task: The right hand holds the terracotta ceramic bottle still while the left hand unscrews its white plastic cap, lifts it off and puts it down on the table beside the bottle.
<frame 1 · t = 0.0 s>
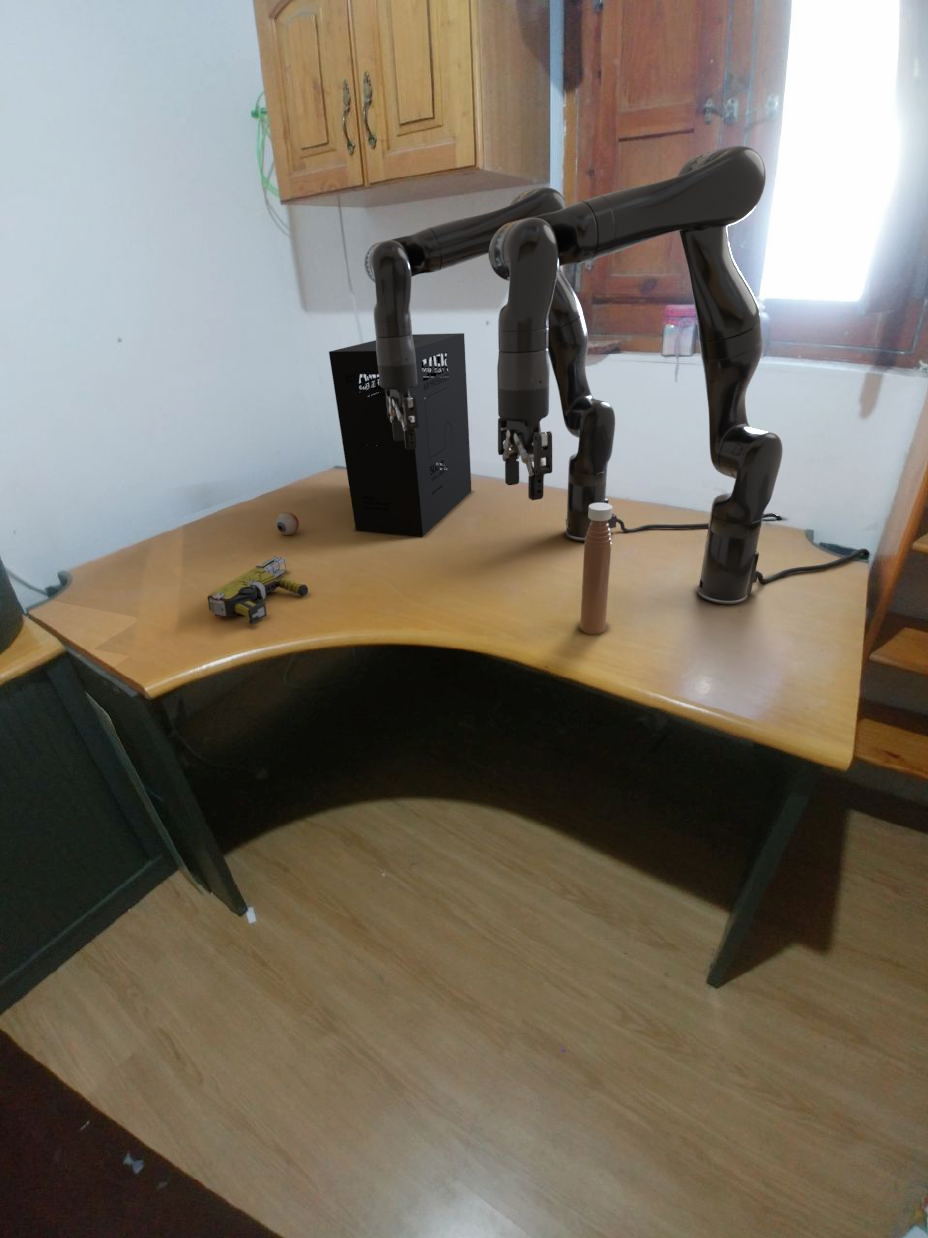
left hand: (404, 444, 126), 29 cm above the table, tool pointing down, fingers open, 8 cm apart
right hand: (523, 491, 96), 29 cm above the table, tool pointing down, fingers open, 8 cm apart
bottle: (592, 627, 115), on the table
cap: (600, 508, 103), point 24 cm above the table, screwed on, not yet turned
eyeball: (289, 534, 165), on the table
cardboard box: (417, 509, 177), on the table
toy gun: (272, 598, 133), on the table
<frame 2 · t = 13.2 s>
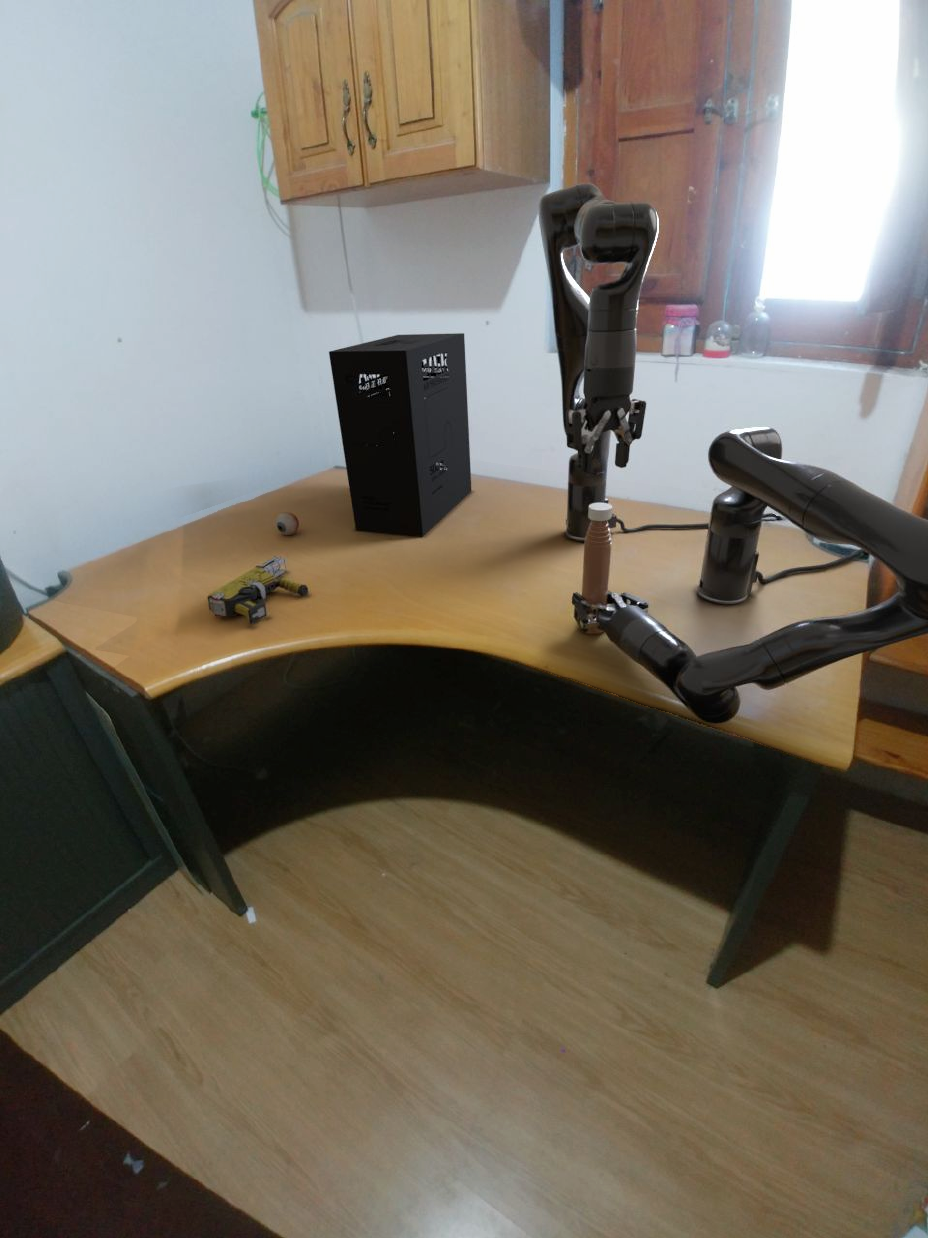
left hand: (602, 470, 100), 30 cm above the table, tool pointing down, fingers open, 6 cm apart
right hand: (587, 594, 114), 6 cm above the table, tool horizontal, fingers closed on bottle, 4 cm apart
bottle: (592, 627, 115), on the table, touching right hand
everything else where it was.
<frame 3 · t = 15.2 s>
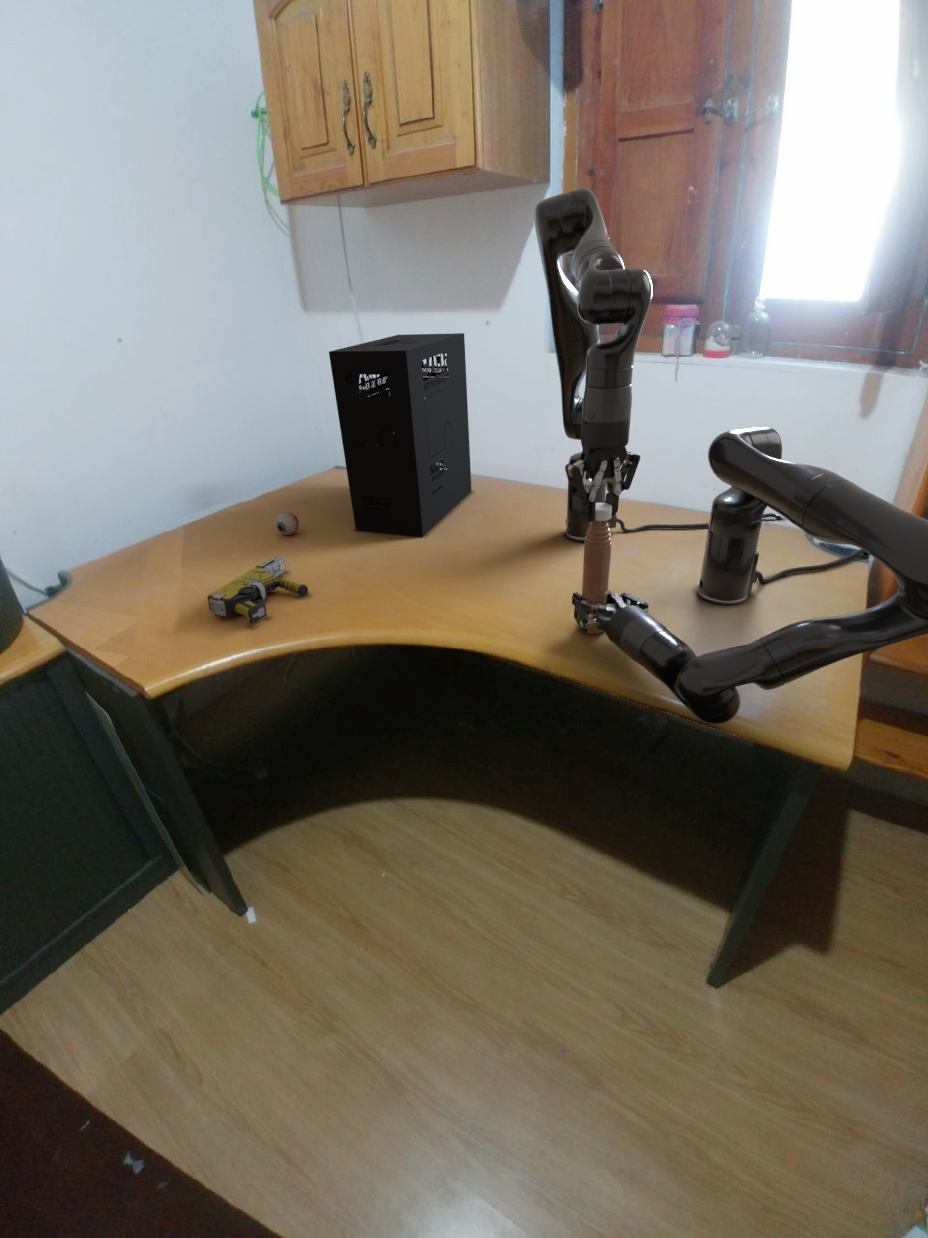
left hand: (599, 517, 104), 22 cm above the table, tool pointing down, fingers closed on cap, 4 cm apart
right hand: (587, 594, 114), 6 cm above the table, tool horizontal, fingers closed on bottle, 4 cm apart
bottle: (592, 627, 115), on the table, touching right hand
cap: (600, 508, 103), point 24 cm above the table, screwed on, not yet turned, touching left hand
everything else where it was.
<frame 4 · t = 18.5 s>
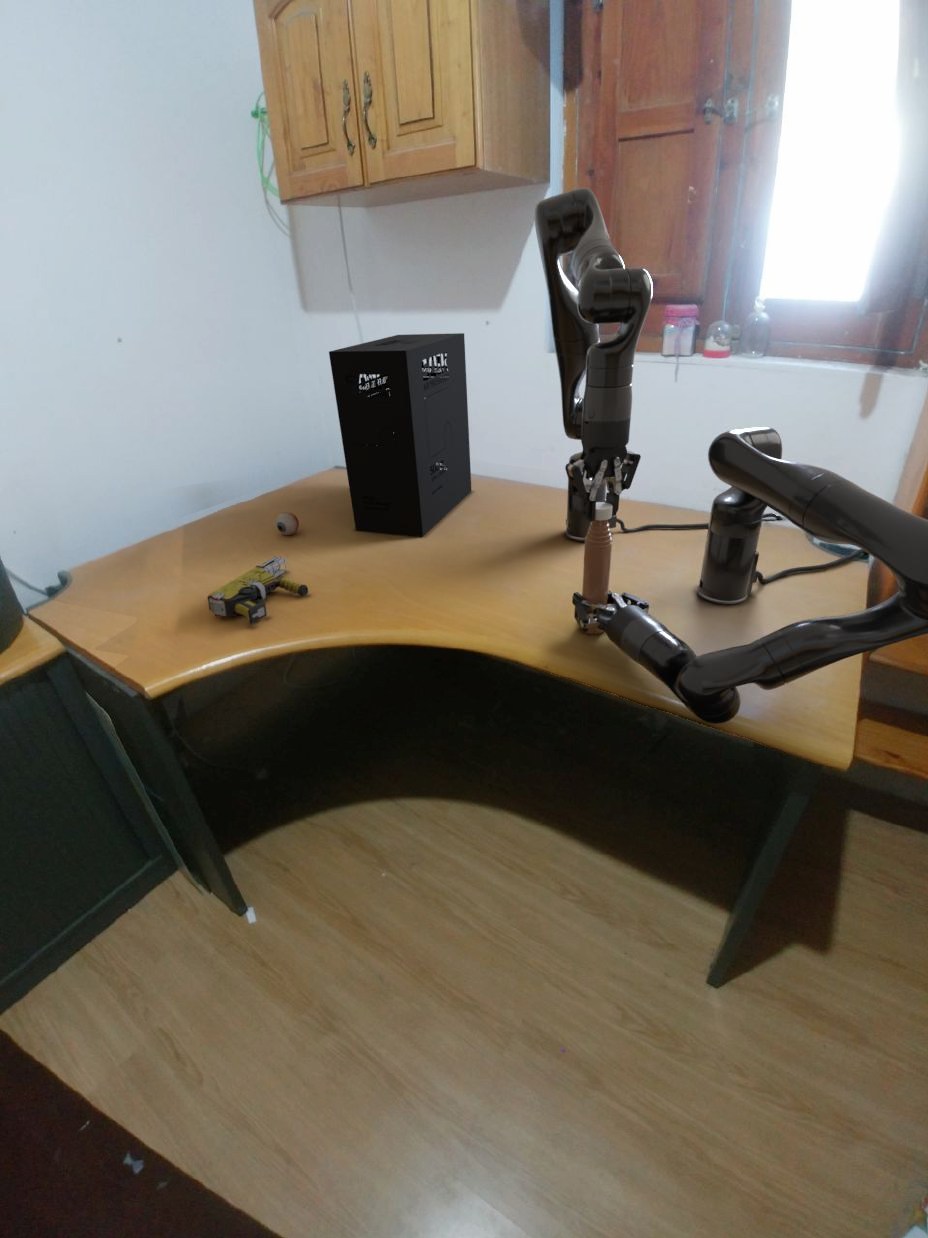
left hand: (599, 516, 104), 22 cm above the table, tool pointing down, fingers closed on cap, 4 cm apart
right hand: (587, 593, 114), 6 cm above the table, tool horizontal, fingers closed on bottle, 4 cm apart
bottle: (593, 627, 115), on the table, touching right hand
cap: (600, 507, 103), point 24 cm above the table, turned 71° so far, risen 0.1 cm, still on its thread, touching left hand
everything else where it was.
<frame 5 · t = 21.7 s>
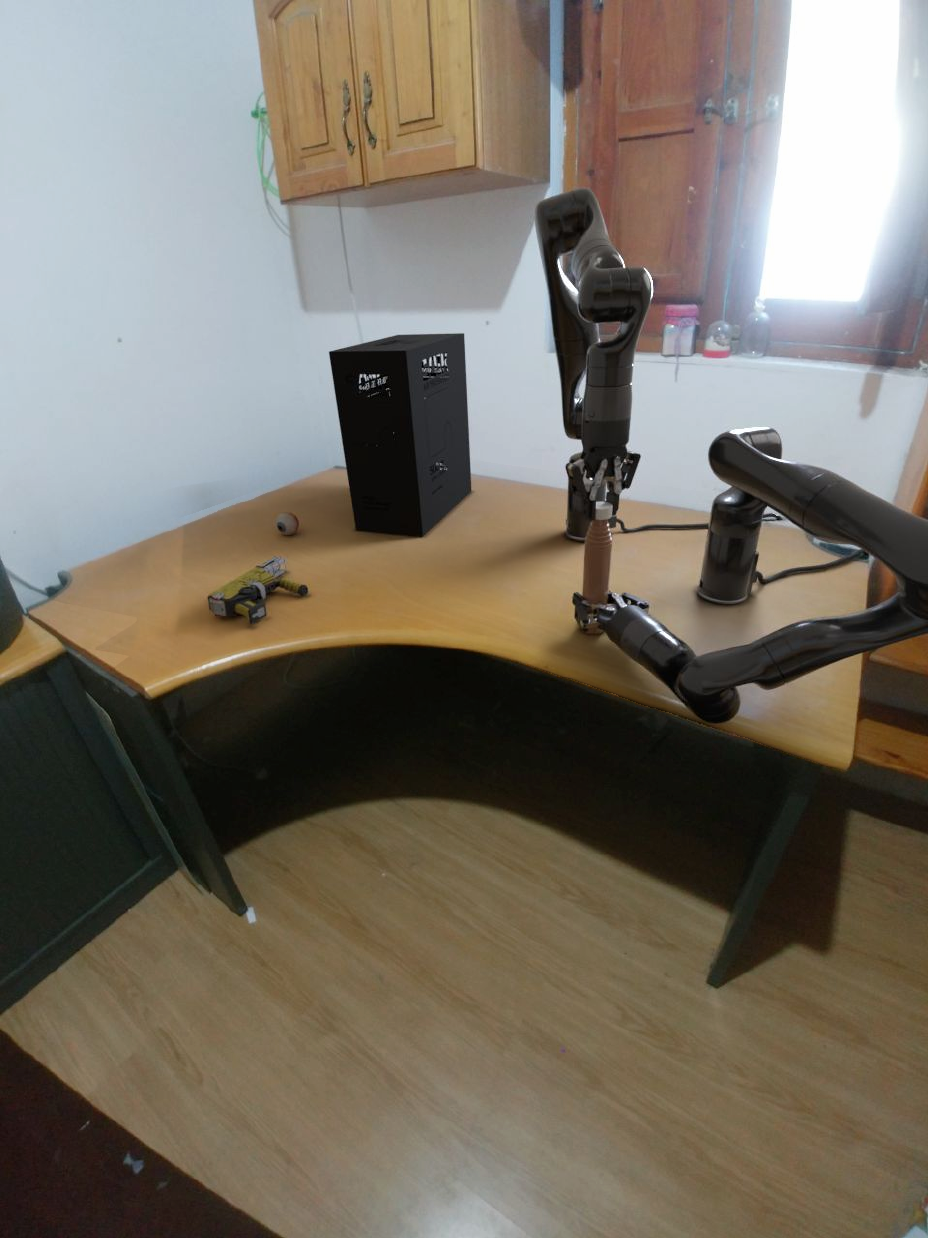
left hand: (600, 516, 104), 22 cm above the table, tool pointing down, fingers closed on cap, 4 cm apart
right hand: (587, 593, 114), 6 cm above the table, tool horizontal, fingers closed on bottle, 4 cm apart
bottle: (593, 627, 115), on the table, touching right hand
cap: (600, 506, 103), point 24 cm above the table, turned 142° so far, risen 0.2 cm, still on its thread, touching left hand
everything else where it was.
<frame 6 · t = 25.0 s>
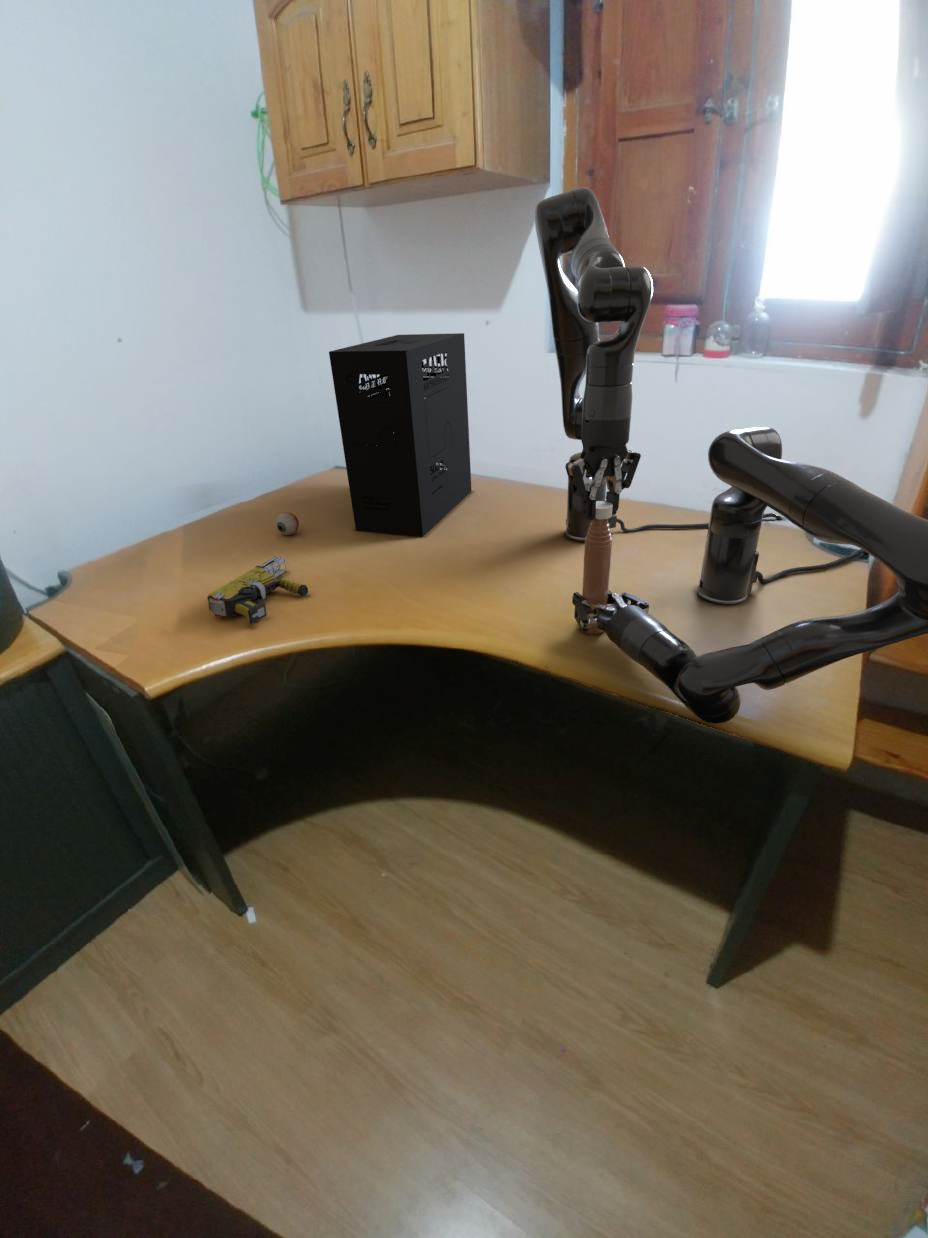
left hand: (600, 515, 104), 22 cm above the table, tool pointing down, fingers closed on cap, 4 cm apart
right hand: (587, 593, 114), 6 cm above the table, tool horizontal, fingers closed on bottle, 4 cm apart
bottle: (593, 627, 115), on the table, touching right hand
cap: (600, 506, 103), point 24 cm above the table, turned 213° so far, risen 0.3 cm, still on its thread, touching left hand
everything else where it was.
when the left hand's fingers open (1 cm above the table, at t = 39.0 s): cap drops 1 cm, point 2 cm above the table.
when the right hand's fingers open (6 cm above the table, at t = 40.2 s): bottle stays where it is, on the table.
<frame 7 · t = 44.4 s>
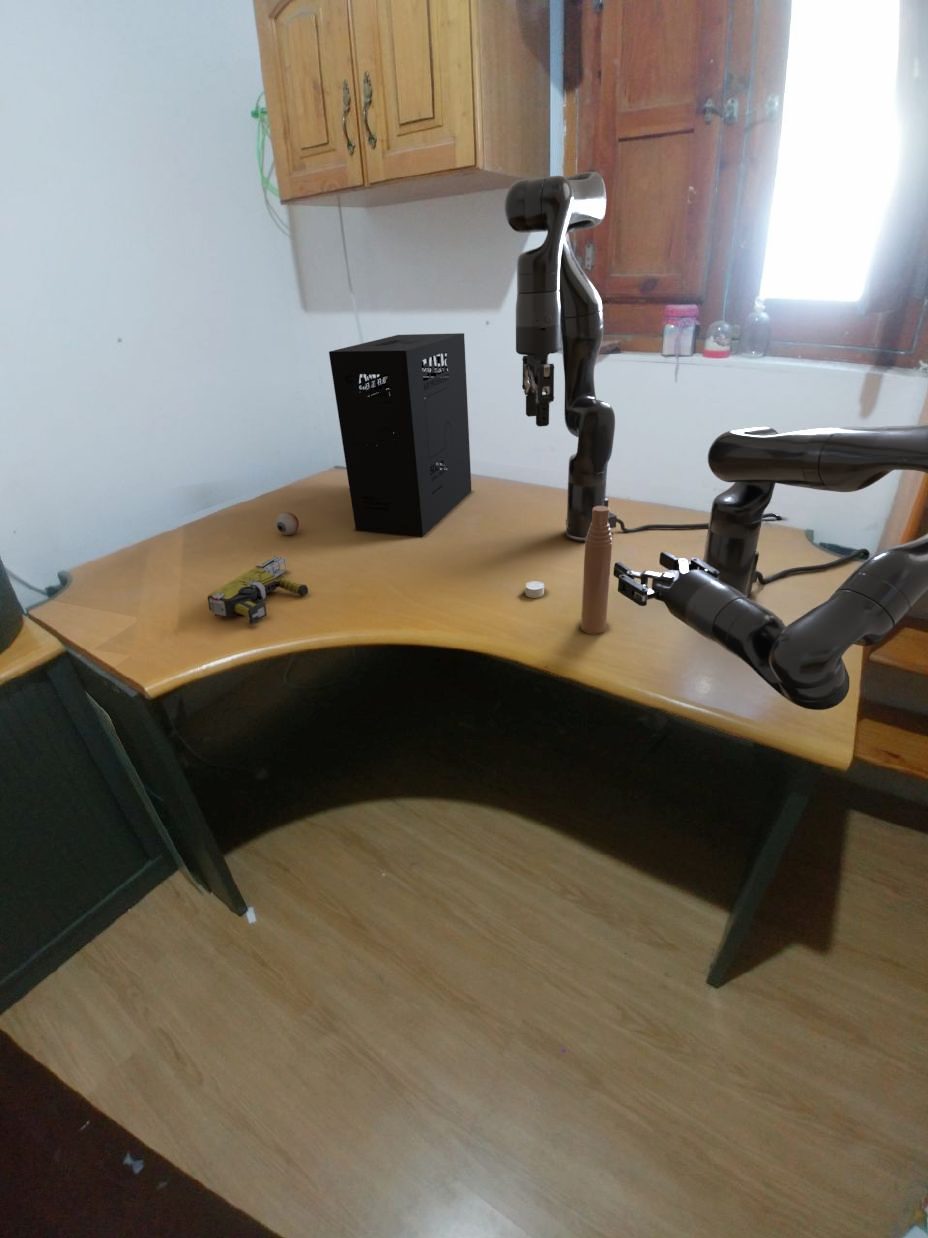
left hand: (537, 420, 110), 36 cm above the table, tool pointing down, fingers open, 8 cm apart
right hand: (639, 562, 96), 19 cm above the table, tool horizontal, fingers open, 8 cm apart
bottle: (593, 627, 115), on the table
cap: (534, 586, 127), point 2 cm above the table, off its thread
everything else where it was.
at the end: cap came off its thread; cap point 1.6 cm above the table; the left hand is holding nothing; the right hand is holding nothing; bottle tilted 0°; bottle moved 0.2 cm from its start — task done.
